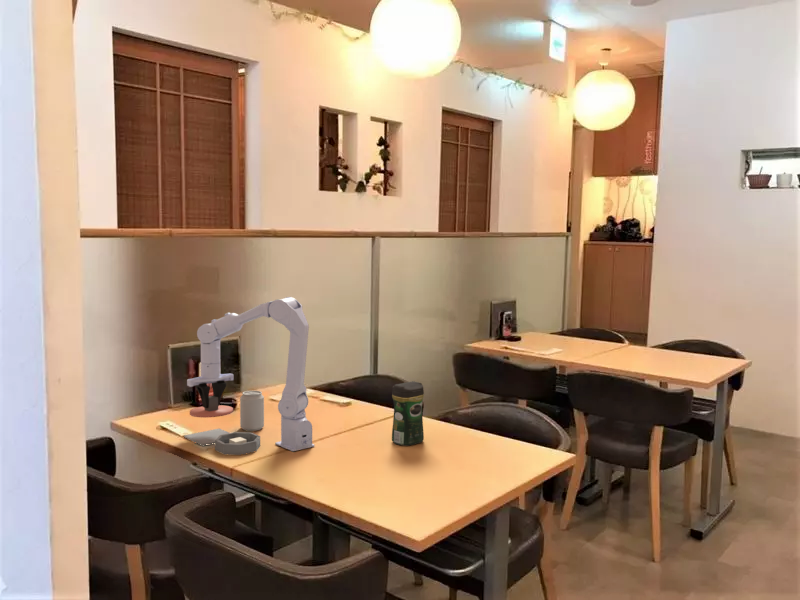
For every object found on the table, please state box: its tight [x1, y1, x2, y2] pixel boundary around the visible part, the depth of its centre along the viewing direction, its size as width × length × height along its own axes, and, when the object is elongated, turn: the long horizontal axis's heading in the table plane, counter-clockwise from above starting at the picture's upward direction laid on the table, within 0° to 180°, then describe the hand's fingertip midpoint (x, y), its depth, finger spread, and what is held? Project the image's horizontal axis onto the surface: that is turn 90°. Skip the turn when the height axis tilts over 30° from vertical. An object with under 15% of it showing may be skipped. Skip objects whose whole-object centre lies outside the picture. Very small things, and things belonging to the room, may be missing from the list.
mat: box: [183, 427, 230, 446], centre depth 213 cm, size 12×12×1 cm
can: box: [239, 390, 265, 432], centre depth 224 cm, size 8×8×12 cm
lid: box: [189, 395, 234, 418], centre depth 212 cm, size 13×13×5 cm
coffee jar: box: [391, 380, 425, 447], centre depth 212 cm, size 10×8×19 cm
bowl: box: [214, 431, 261, 456], centre depth 204 cm, size 12×12×3 cm
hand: (211, 406), depth 212 cm, fingers closed on lid, 3 cm apart
